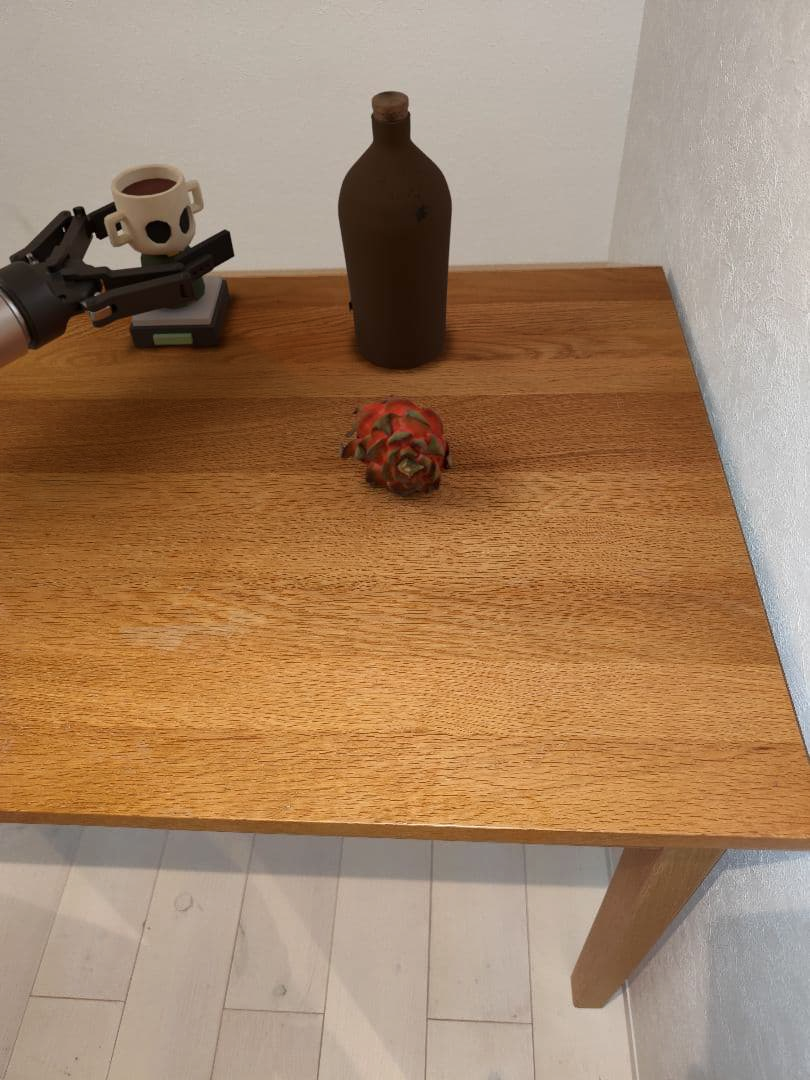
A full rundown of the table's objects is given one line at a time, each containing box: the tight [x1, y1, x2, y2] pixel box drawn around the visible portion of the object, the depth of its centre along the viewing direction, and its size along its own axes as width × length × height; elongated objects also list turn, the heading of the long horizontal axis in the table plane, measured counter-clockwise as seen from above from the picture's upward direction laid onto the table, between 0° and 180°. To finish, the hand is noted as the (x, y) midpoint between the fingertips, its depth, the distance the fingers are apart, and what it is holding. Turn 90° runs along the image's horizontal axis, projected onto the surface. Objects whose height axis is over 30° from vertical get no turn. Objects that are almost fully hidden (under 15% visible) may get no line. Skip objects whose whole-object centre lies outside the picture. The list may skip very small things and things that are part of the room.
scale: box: [128, 274, 231, 348], centre depth 97 cm, size 9×10×3 cm
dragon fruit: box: [338, 393, 455, 498], centre depth 79 cm, size 8×8×12 cm
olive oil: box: [337, 90, 453, 370], centre depth 85 cm, size 11×11×25 cm
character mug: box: [104, 163, 205, 309], centre depth 91 cm, size 11×7×13 cm, turn 133°
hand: (186, 221), depth 92 cm, fingers open, 13 cm apart
